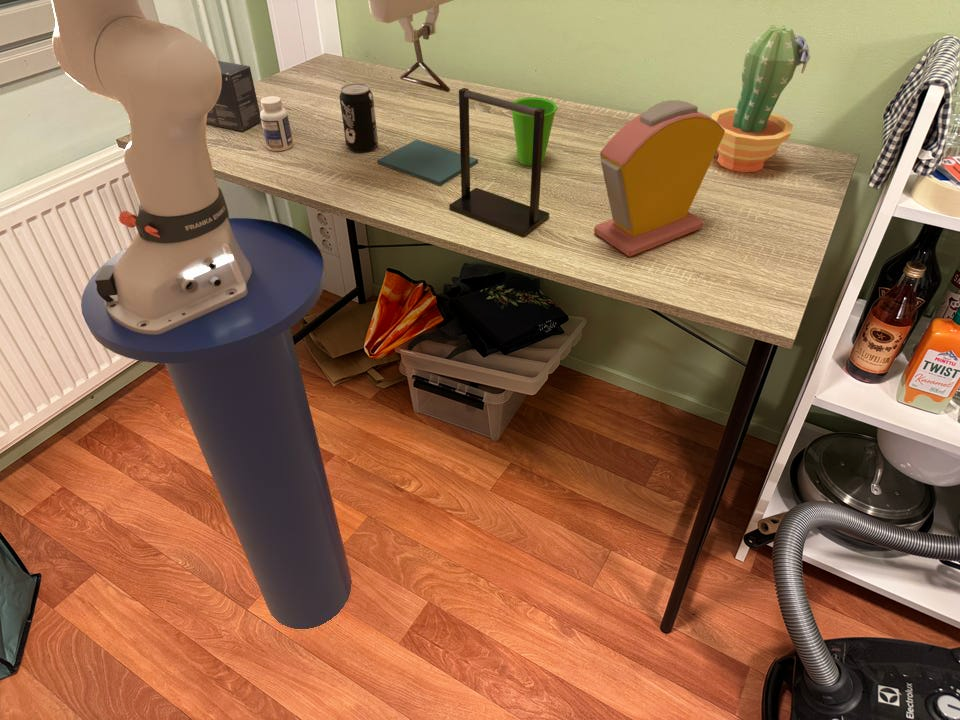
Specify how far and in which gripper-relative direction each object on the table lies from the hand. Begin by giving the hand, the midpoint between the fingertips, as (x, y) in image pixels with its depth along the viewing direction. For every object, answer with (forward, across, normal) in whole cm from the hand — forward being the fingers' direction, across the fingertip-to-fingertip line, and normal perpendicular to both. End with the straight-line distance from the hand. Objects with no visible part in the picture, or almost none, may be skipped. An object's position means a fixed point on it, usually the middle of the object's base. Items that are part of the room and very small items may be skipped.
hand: (420, 37), depth 119 cm
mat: (+24, 0, 0) cm, 24 cm away
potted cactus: (+24, -37, +50) cm, 67 cm away
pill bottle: (+24, +12, -30) cm, 40 cm away
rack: (+24, +8, +23) cm, 34 cm away
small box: (+24, +10, -49) cm, 55 cm away
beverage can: (+24, +2, -16) cm, 29 cm away
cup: (+24, -13, +16) cm, 31 cm away
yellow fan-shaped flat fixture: (+24, -2, +47) cm, 53 cm away
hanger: (+4, -1, 0) cm, 4 cm away
